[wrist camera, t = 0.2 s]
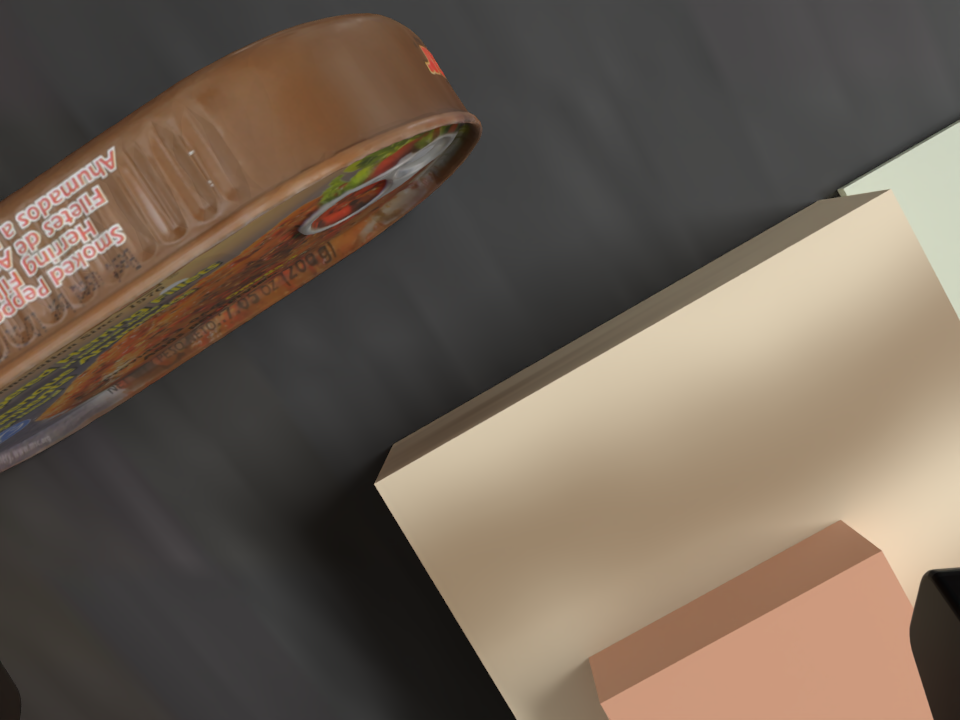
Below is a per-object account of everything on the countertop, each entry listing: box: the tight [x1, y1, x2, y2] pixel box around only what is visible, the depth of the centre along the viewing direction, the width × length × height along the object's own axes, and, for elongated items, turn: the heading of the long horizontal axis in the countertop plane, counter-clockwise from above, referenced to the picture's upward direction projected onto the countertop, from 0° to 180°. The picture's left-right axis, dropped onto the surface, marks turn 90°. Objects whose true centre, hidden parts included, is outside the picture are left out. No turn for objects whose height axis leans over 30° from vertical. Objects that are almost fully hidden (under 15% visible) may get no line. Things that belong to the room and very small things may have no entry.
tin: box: [0, 13, 482, 473], centre depth 18 cm, size 15×3×8 cm, turn 123°
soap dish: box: [374, 189, 960, 720], centre depth 22 cm, size 20×12×4 cm, turn 30°
